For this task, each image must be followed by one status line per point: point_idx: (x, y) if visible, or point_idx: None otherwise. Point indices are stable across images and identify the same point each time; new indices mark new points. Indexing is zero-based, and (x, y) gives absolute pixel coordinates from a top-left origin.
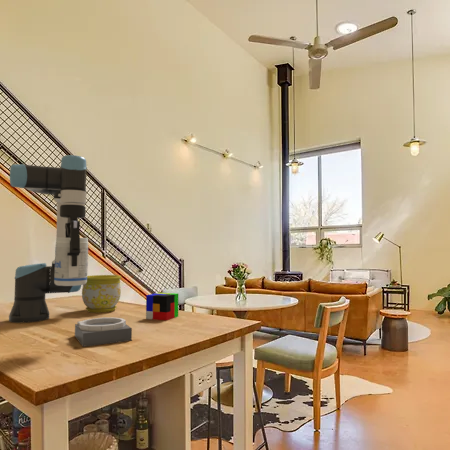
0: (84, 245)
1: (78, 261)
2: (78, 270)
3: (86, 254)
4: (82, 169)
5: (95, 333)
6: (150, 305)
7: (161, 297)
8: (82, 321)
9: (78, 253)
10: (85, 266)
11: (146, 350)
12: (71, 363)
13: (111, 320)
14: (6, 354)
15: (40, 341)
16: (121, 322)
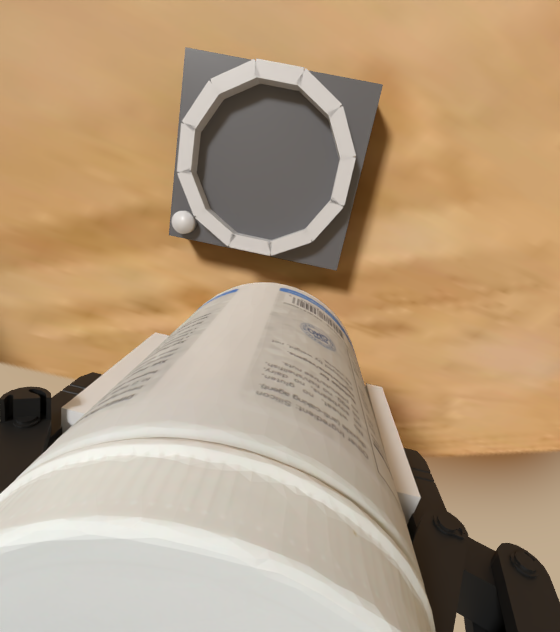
0: (403, 529)
1: (406, 458)
2: (390, 411)
3: (351, 404)
4: None
5: (346, 230)
6: None
7: None
8: (212, 228)
9: (463, 534)
10: (345, 356)
11: (532, 122)
12: (468, 344)
13: (218, 102)
14: None
15: None
16: (336, 108)
